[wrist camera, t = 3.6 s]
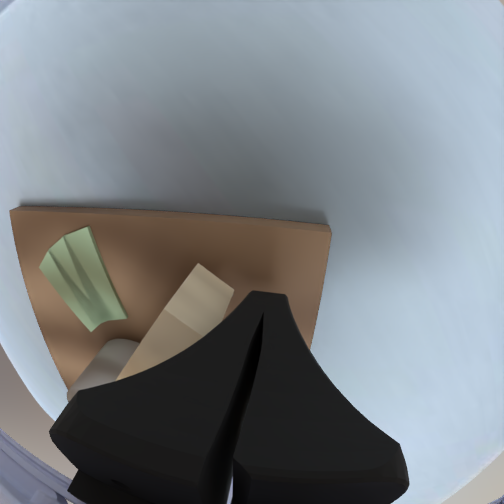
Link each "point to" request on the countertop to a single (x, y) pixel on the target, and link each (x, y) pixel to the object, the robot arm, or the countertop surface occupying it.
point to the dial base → (153, 270)
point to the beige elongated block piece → (162, 332)
